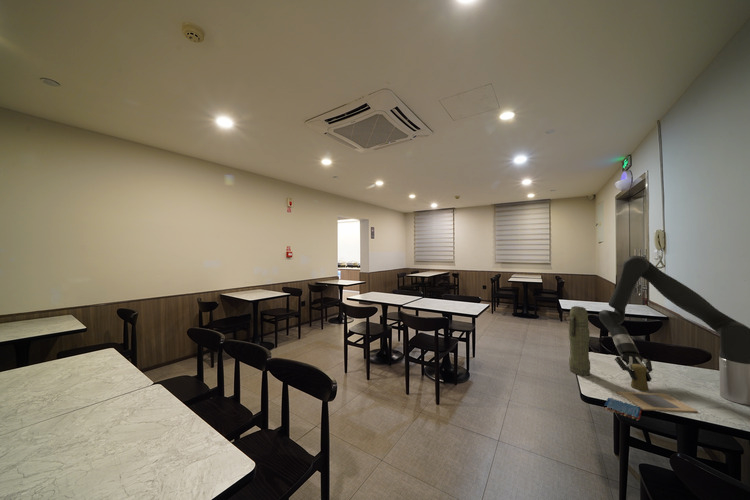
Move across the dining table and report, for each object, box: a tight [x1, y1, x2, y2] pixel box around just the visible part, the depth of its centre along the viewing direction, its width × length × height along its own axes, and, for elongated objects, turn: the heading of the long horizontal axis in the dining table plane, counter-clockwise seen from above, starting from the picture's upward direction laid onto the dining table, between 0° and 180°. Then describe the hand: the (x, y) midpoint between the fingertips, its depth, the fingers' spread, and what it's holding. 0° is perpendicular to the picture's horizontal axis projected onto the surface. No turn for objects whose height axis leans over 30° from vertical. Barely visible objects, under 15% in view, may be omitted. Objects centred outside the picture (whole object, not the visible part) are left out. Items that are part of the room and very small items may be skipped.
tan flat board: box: [616, 391, 699, 413], centre depth 112 cm, size 20×13×1 cm, turn 84°
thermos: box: [568, 305, 591, 377], centre depth 140 cm, size 9×12×35 cm
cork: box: [630, 364, 650, 392], centre depth 124 cm, size 6×6×11 cm
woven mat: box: [603, 397, 643, 421], centre depth 107 cm, size 10×11×2 cm
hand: (642, 380), depth 122 cm, fingers closed on cork, 4 cm apart
